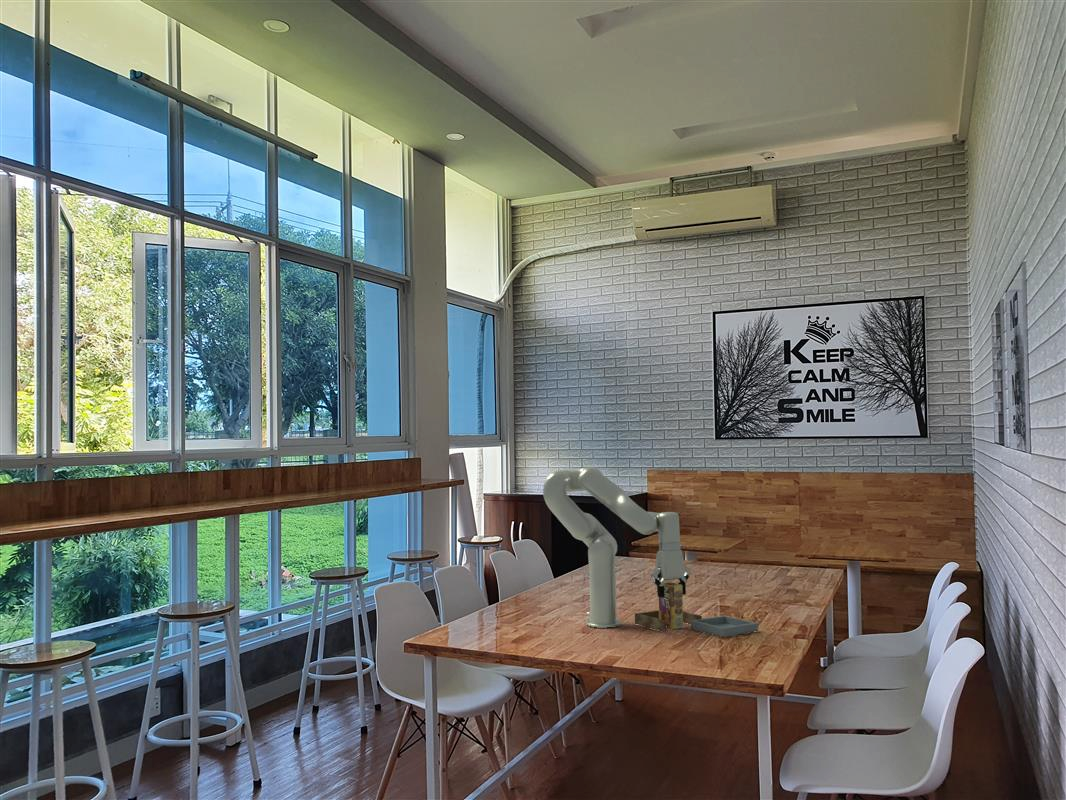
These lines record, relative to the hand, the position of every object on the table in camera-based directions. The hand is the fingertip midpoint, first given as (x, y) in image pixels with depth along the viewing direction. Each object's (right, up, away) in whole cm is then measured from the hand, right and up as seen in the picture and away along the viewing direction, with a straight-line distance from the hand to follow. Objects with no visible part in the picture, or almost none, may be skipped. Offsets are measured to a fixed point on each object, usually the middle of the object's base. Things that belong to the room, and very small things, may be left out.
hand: (671, 595), depth 290 cm
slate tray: (+17, -10, -8) cm, 21 cm away
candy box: (0, -11, -1) cm, 11 cm away
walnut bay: (-1, -11, +1) cm, 11 cm away
